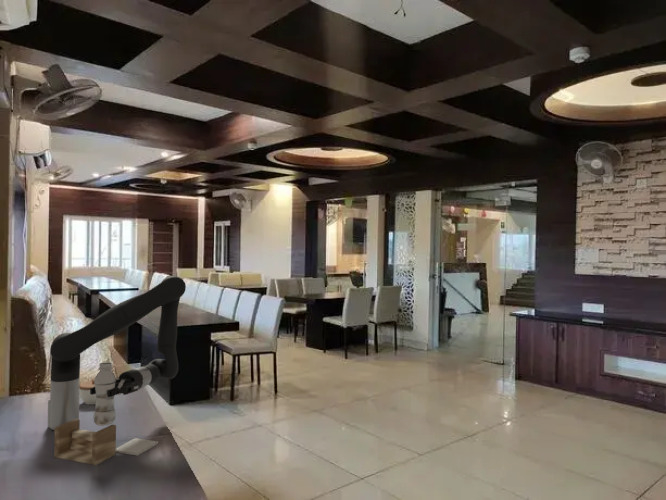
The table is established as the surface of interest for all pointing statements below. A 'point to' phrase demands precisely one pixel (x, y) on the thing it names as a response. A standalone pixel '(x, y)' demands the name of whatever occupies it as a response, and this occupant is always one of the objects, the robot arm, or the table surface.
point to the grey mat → (136, 446)
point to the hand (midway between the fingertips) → (99, 392)
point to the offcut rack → (84, 443)
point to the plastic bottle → (104, 395)
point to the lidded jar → (87, 392)
